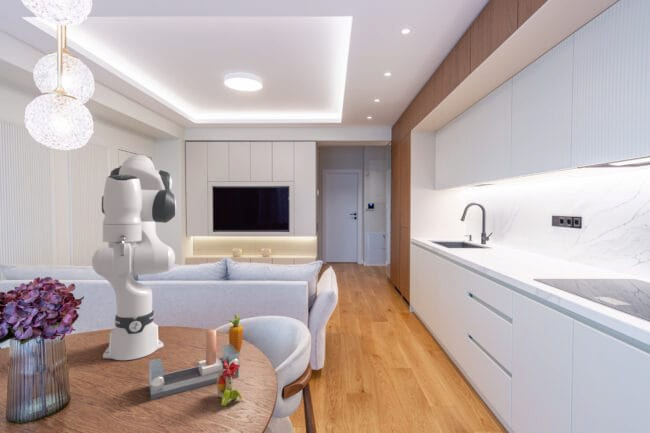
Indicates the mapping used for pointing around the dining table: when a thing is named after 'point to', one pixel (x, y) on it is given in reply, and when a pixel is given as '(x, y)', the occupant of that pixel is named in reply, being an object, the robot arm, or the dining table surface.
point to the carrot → (236, 334)
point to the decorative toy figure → (227, 383)
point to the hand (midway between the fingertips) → (122, 285)
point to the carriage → (210, 356)
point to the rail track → (185, 376)
